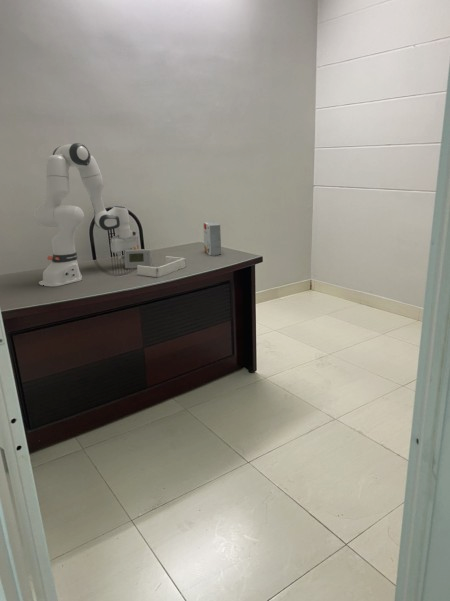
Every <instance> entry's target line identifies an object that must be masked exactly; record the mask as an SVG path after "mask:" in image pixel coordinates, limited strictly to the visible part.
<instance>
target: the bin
mask: <svg viewBox="0 0 450 601" xmlns="http://www.w3.org/2000/svg"><path fill="white" fill-rule="evenodd" d="M164 262H165V264H164V265H160V266H157V267H156V266H152V267H148V266H140V265H138V266H137V269H136V270H137V275H138V276H146V277H153V278H160V277H163V276H166V275H168V274H171V273H173V272H176V271H178V269H179V270H180V269H183V268H186V267H187V258H185V257H176V256H170V255H169V256H168V255H166V256H164Z"/></svg>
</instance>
